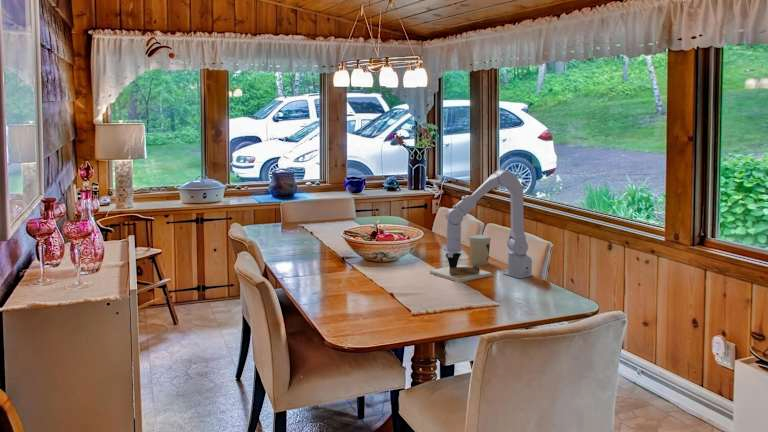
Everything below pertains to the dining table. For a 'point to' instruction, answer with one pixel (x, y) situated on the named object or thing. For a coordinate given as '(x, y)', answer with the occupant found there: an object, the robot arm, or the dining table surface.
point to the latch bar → (464, 270)
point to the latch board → (460, 277)
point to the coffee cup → (479, 249)
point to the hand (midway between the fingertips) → (452, 270)
